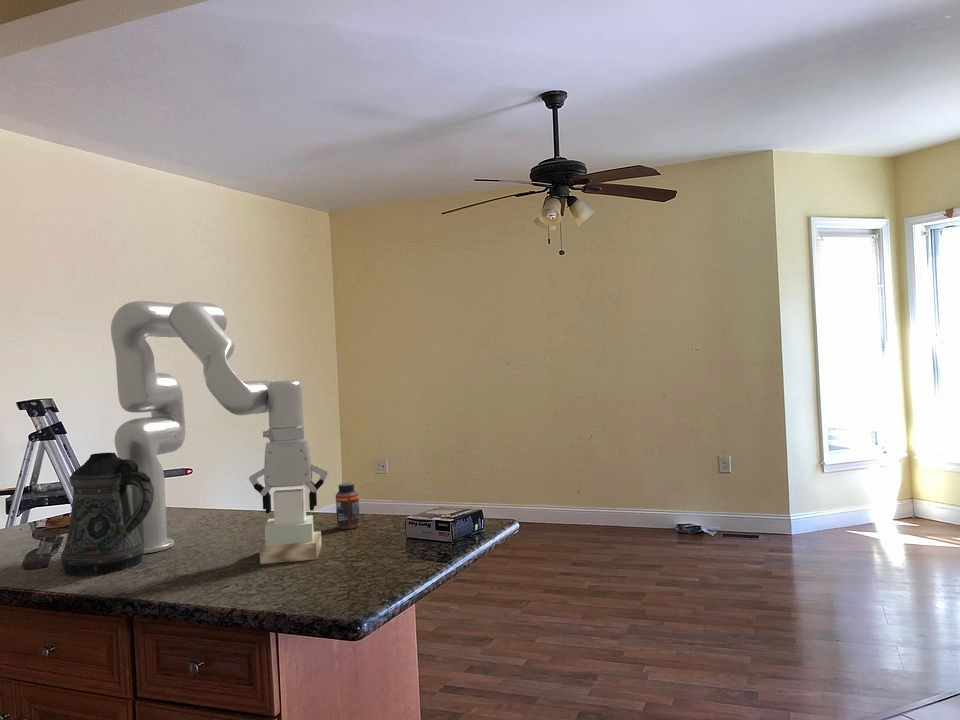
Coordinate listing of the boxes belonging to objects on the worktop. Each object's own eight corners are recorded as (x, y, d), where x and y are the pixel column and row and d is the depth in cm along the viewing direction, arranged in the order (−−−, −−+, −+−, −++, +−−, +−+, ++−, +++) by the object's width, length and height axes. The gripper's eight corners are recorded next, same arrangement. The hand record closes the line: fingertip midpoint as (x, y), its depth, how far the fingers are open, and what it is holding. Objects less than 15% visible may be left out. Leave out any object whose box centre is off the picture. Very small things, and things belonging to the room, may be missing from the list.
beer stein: (68, 562, 169) (63, 453, 169) (160, 551, 176) (155, 446, 176) (54, 581, 154) (49, 461, 154) (156, 567, 160) (151, 452, 161)
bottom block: (260, 565, 160) (259, 547, 160) (269, 552, 172) (268, 535, 172) (316, 561, 161) (315, 543, 161) (321, 548, 173) (320, 531, 173)
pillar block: (274, 524, 163) (273, 493, 163) (279, 519, 169) (278, 488, 169) (302, 522, 164) (300, 491, 164) (306, 517, 170) (304, 487, 170)
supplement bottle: (362, 524, 195) (360, 481, 195) (356, 529, 189) (354, 485, 189) (340, 525, 196) (338, 482, 196) (334, 530, 190) (332, 486, 190)
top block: (265, 546, 161) (264, 527, 161) (269, 536, 170) (268, 518, 170) (312, 541, 163) (311, 523, 163) (313, 532, 172) (312, 515, 172)
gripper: (244, 439, 162) (247, 517, 162) (324, 434, 164) (327, 511, 164) (250, 435, 169) (254, 510, 169) (327, 431, 171) (330, 505, 171)
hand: (290, 510), depth 167 cm, fingers open, 9 cm apart
